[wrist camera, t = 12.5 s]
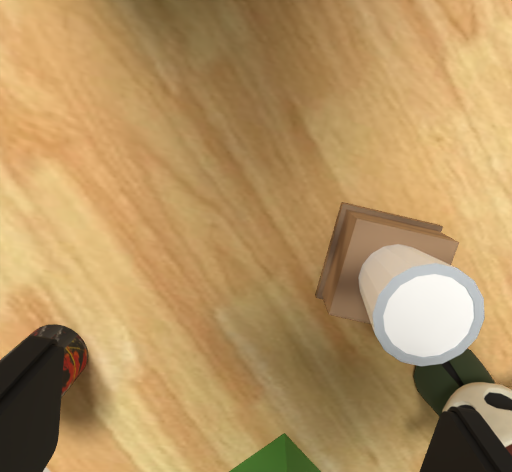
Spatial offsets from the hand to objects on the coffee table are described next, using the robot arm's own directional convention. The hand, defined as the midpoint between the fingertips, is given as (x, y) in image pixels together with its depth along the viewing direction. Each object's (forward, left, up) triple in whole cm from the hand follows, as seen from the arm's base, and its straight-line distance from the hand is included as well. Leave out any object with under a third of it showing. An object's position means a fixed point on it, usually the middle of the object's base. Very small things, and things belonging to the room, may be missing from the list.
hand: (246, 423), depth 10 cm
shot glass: (+2, +11, -22) cm, 25 cm away
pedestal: (+2, +11, -27) cm, 29 cm away
